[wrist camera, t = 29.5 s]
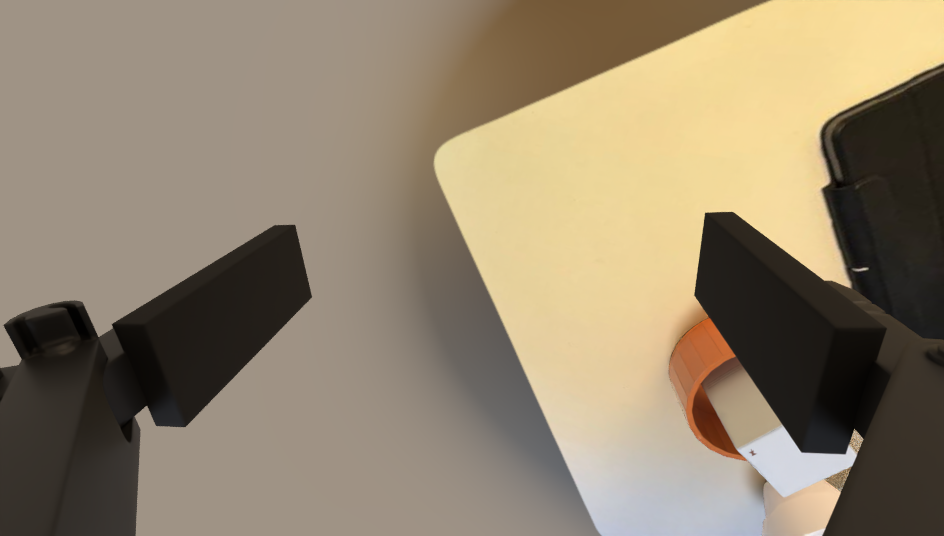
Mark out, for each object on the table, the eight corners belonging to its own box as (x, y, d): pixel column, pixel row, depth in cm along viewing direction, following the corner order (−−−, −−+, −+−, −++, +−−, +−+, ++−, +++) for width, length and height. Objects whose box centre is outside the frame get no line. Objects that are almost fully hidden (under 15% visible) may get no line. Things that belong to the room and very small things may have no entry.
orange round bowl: (696, 296, 48) (719, 328, 42) (834, 325, 47) (877, 361, 41) (651, 402, 54) (666, 443, 48) (773, 429, 53) (803, 474, 47)
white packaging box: (726, 405, 52) (781, 501, 41) (688, 363, 51) (734, 449, 39) (789, 372, 50) (867, 464, 38) (750, 325, 48) (819, 407, 36)
